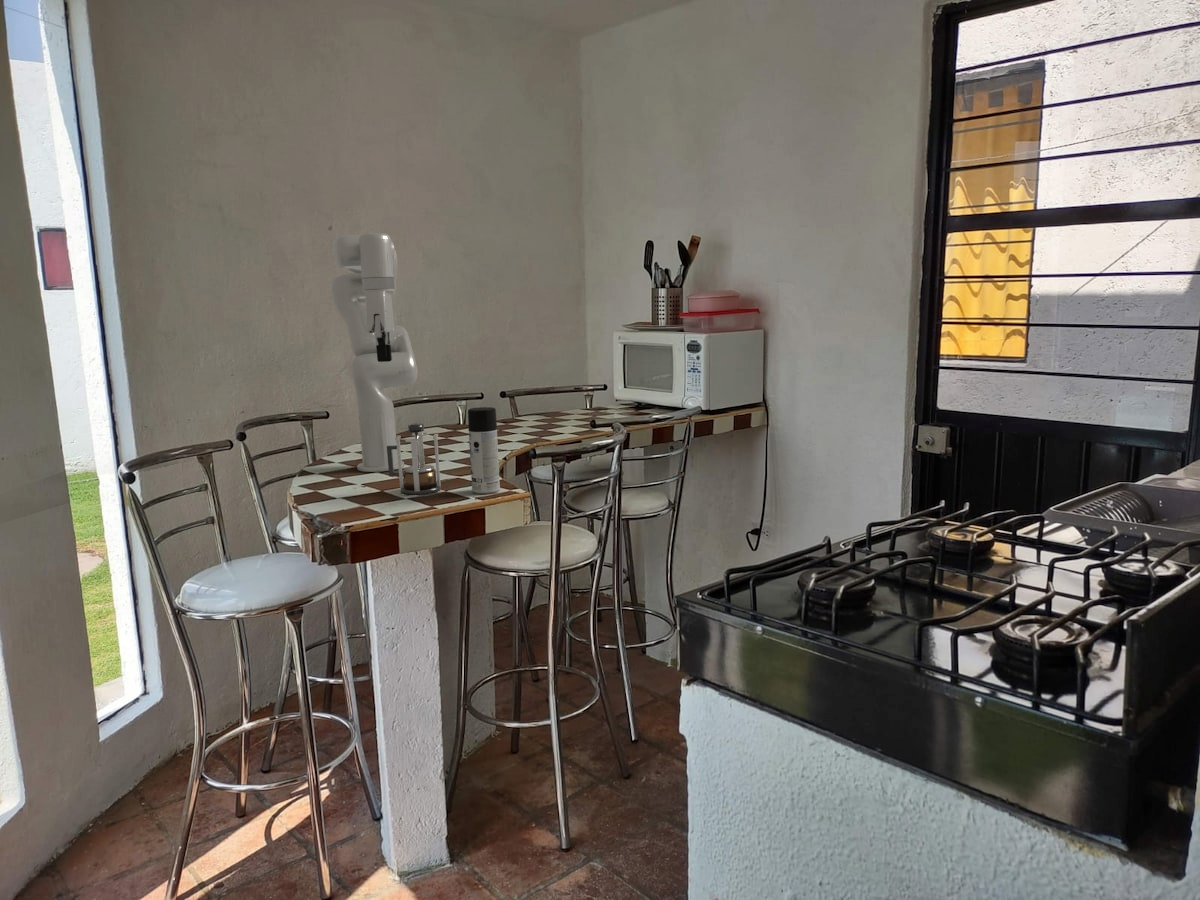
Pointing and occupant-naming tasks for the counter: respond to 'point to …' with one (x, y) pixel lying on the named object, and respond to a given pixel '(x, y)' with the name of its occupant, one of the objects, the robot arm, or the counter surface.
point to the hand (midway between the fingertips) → (384, 361)
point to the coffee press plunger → (422, 468)
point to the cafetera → (415, 468)
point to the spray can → (483, 450)
